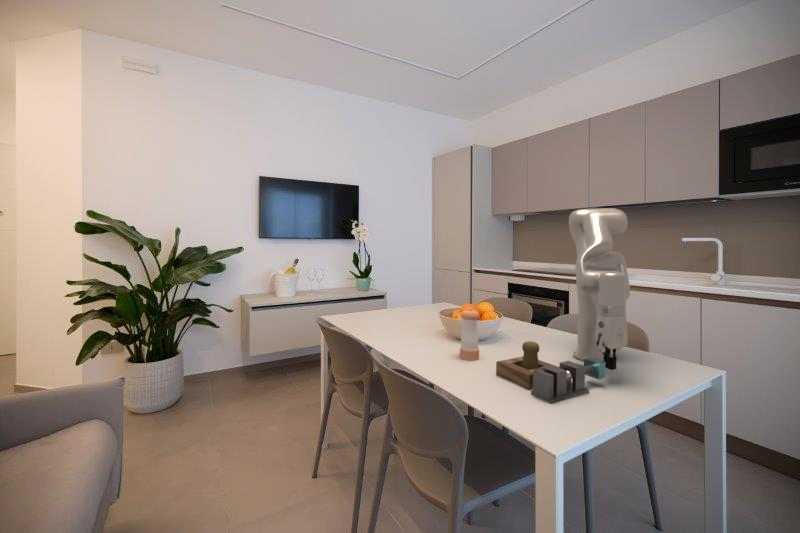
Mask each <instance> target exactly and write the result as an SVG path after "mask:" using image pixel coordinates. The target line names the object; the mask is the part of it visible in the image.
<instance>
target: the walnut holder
mask: <svg viewBox="0 0 800 533" xmlns="http://www.w3.org/2000/svg"><path fill="white" fill-rule="evenodd" d="M522 362H523V356H519V357H518V356H517V357H513V358H509V359H504V360H503V359H502V360H498V361H496V365H495V366H496V368H495V371H496V372H495V375H496V376H498V377H499V378H502V379H504V380H506V381H509V382H510V383H513V384H515V385H517V386H520V387H522V388H524V389H527V390H528V391H532V390H533V370H535V369H531V370H527V369H525V368H522ZM538 363H539V368H536V369H539V370H541V367H543V366H547V365H552V366H555V367H558V368H559V365H554V364H552V363H549V362H546V361H543V360H540V359H538Z"/></svg>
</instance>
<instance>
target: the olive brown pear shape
mask: <svg viewBox="0 0 800 533" xmlns="http://www.w3.org/2000/svg"><path fill="white" fill-rule="evenodd" d="M521 348H522V351H523V356H522V357H523V362H522V368H525V369H527V370H531V369H536V368H539V363H538V360H539V357H538V356H539V355H538V354H539V352H540V345H539V343H537V342H536V341H530V340H529V341H524V342H523V343H522V347H521Z"/></svg>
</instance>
